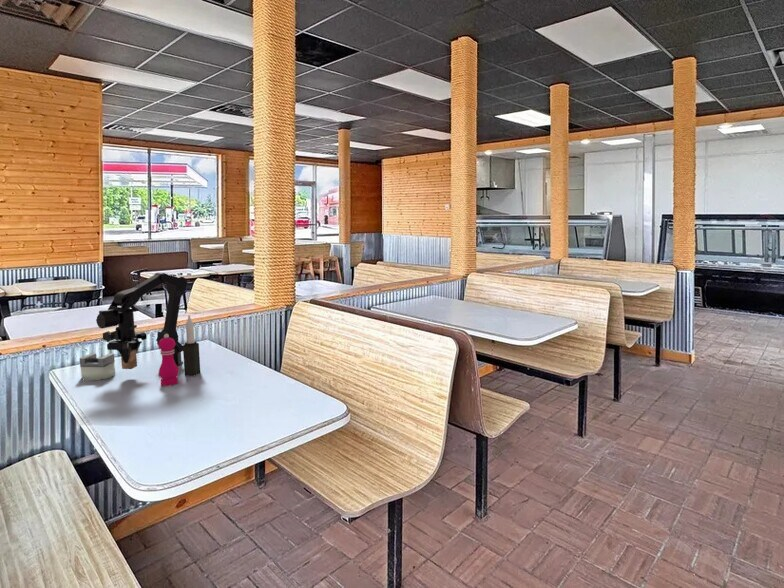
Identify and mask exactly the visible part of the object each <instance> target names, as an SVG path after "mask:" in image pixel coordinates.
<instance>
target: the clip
mask: <svg viewBox="0 0 784 588" xmlns="http://www.w3.org/2000/svg"><path fill="white" fill-rule="evenodd" d="M115 361H116V360H115V354H114V353H108V354H106V355H103V356H101V357H97V353H96V352H94V353H93V352H92V353H89V354H86V355H85V356H82V357H80V358H79V366H80V368H81V367H105V366H107V365H109V364H111V363H113V362H115ZM95 362H98V363H95Z"/></svg>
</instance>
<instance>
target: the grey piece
mask: <svg viewBox="0 0 784 588" xmlns="http://www.w3.org/2000/svg"><path fill="white" fill-rule="evenodd" d="M95 363H98V362H95ZM80 372H81V373H80V374H81V375H80V376H81V379H84V380H83V381H86V380H97V381H102V380H101V379H103V380H107V379H110V378H113V377H114V376H115V375H116V367H115V362H113V363H111V364H109V365H107V366H105V367H80ZM112 376H113V377H112ZM106 378H107V379H106Z"/></svg>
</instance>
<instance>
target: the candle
mask: <svg viewBox="0 0 784 588" xmlns="http://www.w3.org/2000/svg"><path fill="white" fill-rule="evenodd" d="M194 328H195V327H194V322H193V320H192V319H191V315H187V321H186V322H185V333H186V335H185V336H186V342H184V344H182V345H183V351H182V353H183V370H184V376H187V375H189V377H195V376H197V375H198V373H199V374H201V360H200V345H199V342H197V341H195V329H194ZM196 374H197V375H196ZM194 375H195V376H194Z"/></svg>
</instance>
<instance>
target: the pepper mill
mask: <svg viewBox="0 0 784 588" xmlns="http://www.w3.org/2000/svg"><path fill="white" fill-rule="evenodd" d="M157 346H158V348H159V350H160V351H159V352H160V355H161V364H160V367H159V369H158V376H159V378H161V379H160V385H161V386H163V385H165V387H166V386H169V385H170V386H174V385H176V384H178V383H179V378H178V375H179V374H180V373H179V372H180V371H179V366H177V365H176V363H175V361H174V357H173V353H174V349H173V348H174V347H175V341H174V340H173V339H172V338H169V335H168V334H165V335H164V338H163V339H161V340H160V341H159V344H158V345H157Z"/></svg>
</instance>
